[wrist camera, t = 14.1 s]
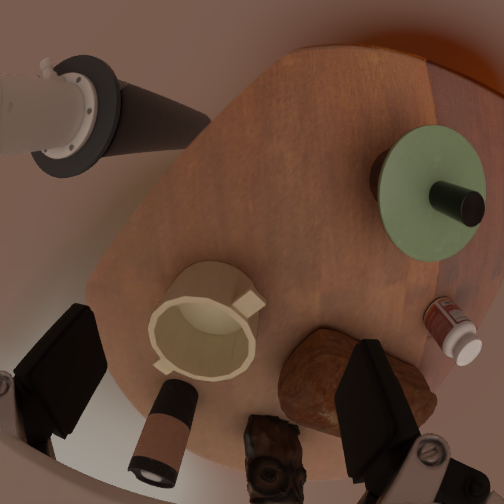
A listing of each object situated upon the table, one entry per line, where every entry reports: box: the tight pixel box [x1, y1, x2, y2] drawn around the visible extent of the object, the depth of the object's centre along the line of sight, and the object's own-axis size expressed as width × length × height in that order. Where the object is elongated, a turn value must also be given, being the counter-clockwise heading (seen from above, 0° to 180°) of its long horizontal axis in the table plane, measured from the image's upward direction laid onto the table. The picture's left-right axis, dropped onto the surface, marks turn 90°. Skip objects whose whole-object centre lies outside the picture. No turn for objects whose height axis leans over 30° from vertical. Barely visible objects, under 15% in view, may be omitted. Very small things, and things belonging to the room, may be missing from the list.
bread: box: [278, 329, 437, 437], centre depth 37 cm, size 14×28×12 cm, turn 61°
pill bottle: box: [424, 297, 482, 366], centre depth 33 cm, size 6×6×11 cm
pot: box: [148, 261, 267, 382], centre depth 35 cm, size 13×18×10 cm
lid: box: [377, 125, 486, 262], centre depth 20 cm, size 14×14×7 cm
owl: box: [244, 415, 307, 504], centre depth 41 cm, size 13×13×20 cm
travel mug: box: [128, 379, 198, 488], centre depth 38 cm, size 8×8×20 cm
